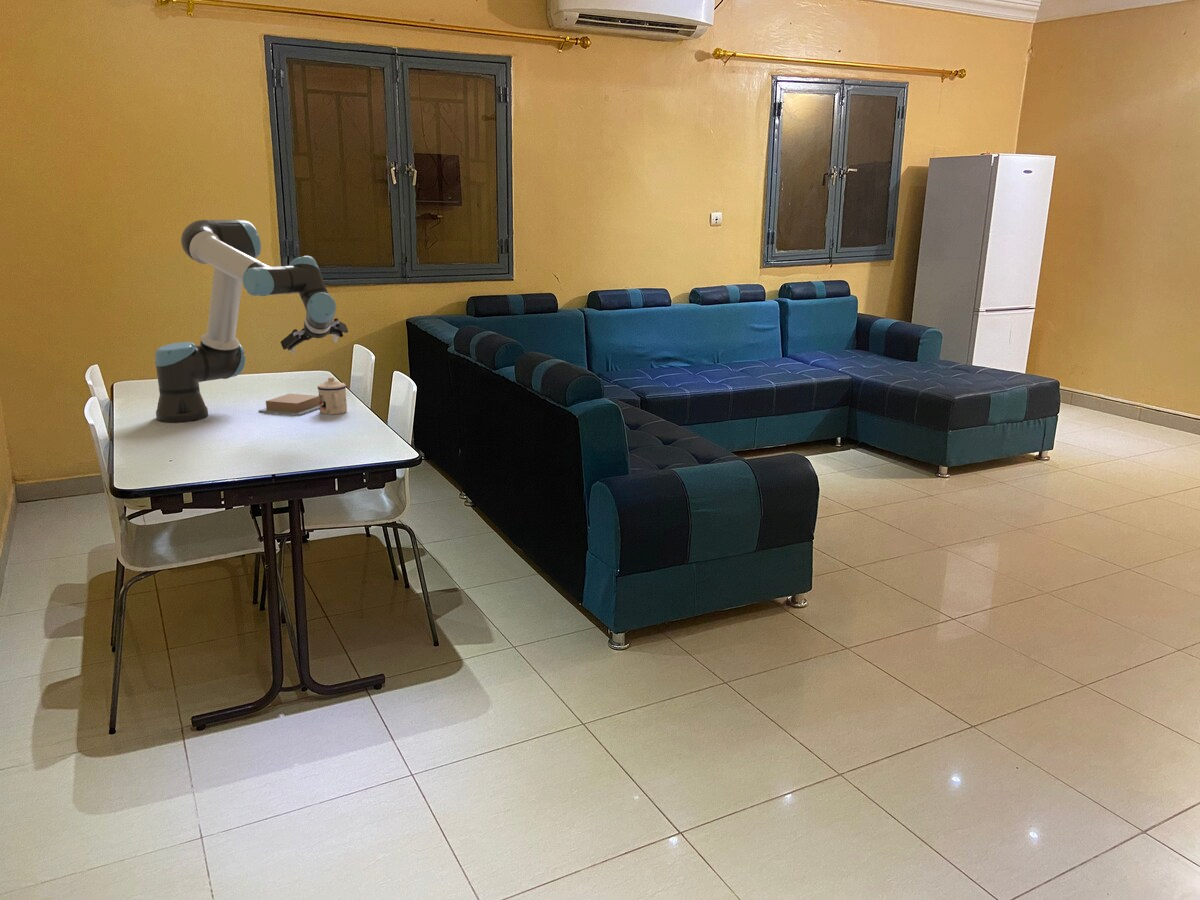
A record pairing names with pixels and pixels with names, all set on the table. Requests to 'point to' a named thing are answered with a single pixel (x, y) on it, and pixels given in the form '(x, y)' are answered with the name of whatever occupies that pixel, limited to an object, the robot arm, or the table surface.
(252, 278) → the robot arm
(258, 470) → the table surface
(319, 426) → the table surface
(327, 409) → the teacup with lid
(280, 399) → the build base
